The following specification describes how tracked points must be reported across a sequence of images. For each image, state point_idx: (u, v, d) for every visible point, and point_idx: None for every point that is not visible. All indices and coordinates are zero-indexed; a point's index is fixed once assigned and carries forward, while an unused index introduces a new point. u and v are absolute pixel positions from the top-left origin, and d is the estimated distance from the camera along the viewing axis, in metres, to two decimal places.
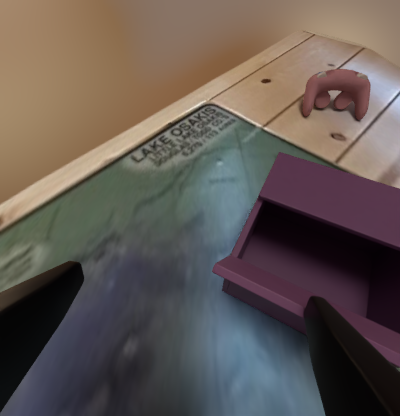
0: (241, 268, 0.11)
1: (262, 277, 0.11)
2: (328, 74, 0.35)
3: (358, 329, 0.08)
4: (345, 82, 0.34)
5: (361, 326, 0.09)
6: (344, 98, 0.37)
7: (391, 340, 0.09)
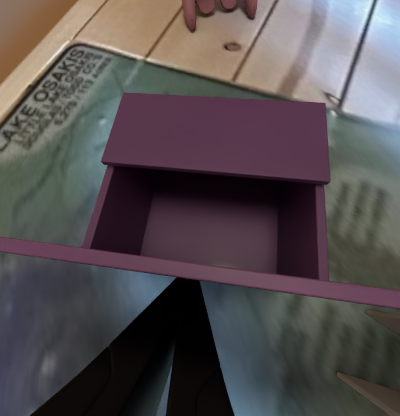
0: None
1: None
2: None
3: None
4: None
5: None
6: None
7: None
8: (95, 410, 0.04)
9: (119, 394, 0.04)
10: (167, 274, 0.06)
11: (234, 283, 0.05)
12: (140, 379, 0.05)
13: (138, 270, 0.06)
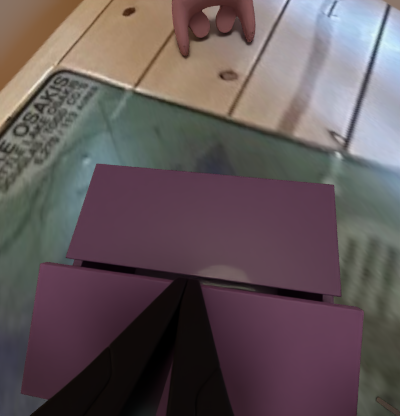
0: None
1: None
2: None
3: None
4: None
5: None
6: (225, 15, 0.27)
7: None
8: (95, 410, 0.04)
9: (119, 394, 0.04)
10: None
11: (226, 289, 0.09)
12: (140, 379, 0.05)
13: (166, 282, 0.09)
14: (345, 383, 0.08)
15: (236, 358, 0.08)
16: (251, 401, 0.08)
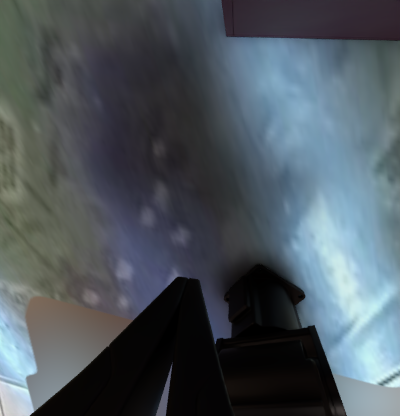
0: None
1: None
2: None
3: None
4: None
5: None
6: None
7: None
8: (95, 410, 0.04)
9: (119, 394, 0.04)
10: None
11: None
12: (140, 379, 0.05)
13: None
14: None
15: None
16: None
